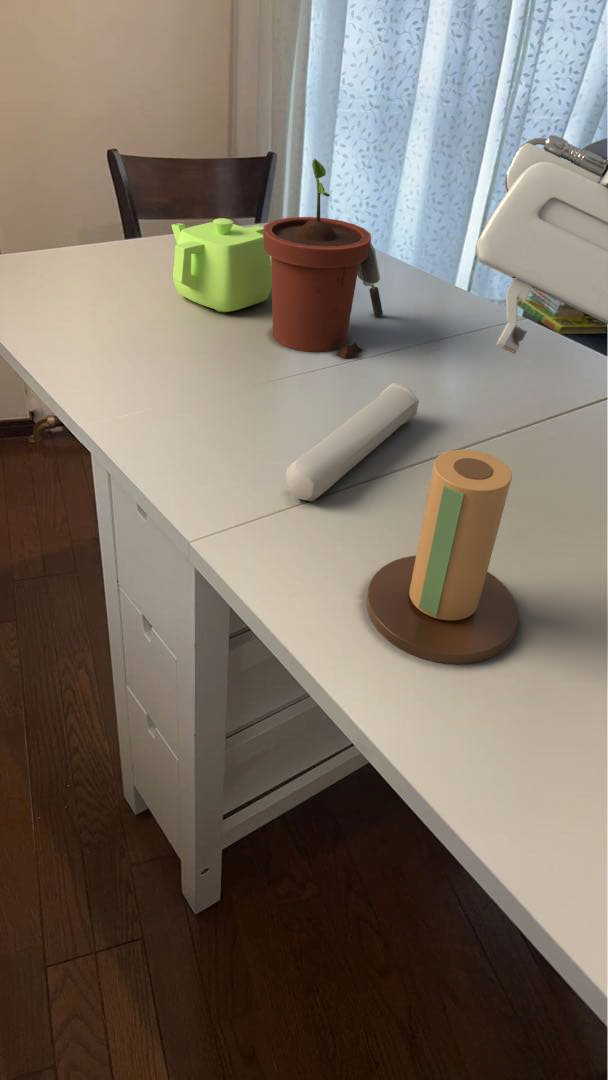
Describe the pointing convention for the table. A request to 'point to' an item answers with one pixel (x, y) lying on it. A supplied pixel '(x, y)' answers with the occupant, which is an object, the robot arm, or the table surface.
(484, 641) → the disc
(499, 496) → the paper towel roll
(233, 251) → the teapot
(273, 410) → the table surface
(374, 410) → the tube
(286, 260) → the potted plant
